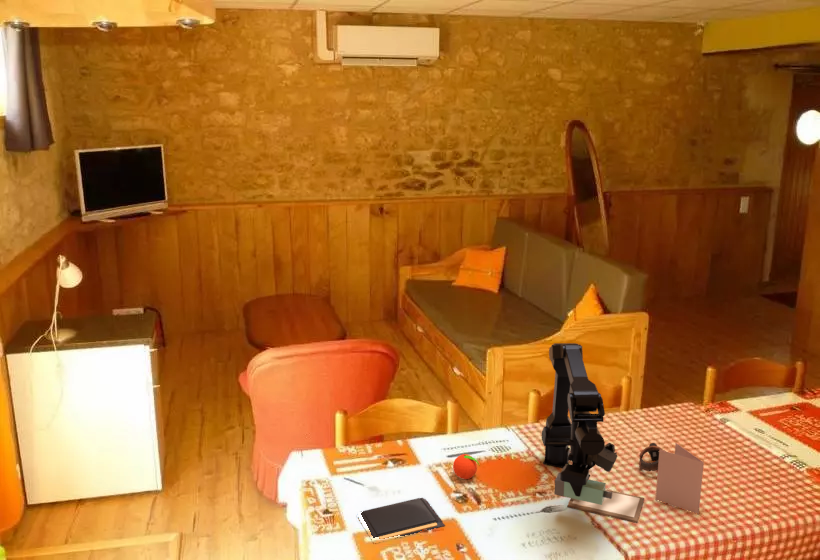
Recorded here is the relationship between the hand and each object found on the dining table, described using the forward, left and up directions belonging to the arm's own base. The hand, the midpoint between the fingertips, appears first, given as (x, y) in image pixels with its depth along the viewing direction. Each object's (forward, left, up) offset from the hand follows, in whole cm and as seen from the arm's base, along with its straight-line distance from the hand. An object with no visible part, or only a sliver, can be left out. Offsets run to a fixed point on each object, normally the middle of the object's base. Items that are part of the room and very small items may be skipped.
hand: (579, 491), depth 182 cm
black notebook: (-42, -19, -9) cm, 47 cm away
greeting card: (+22, +18, -8) cm, 30 cm away
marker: (0, 0, -1) cm, 1 cm away
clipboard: (+5, +11, -8) cm, 15 cm away
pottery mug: (+14, +36, -9) cm, 40 cm away
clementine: (-34, +8, -8) cm, 36 cm away
